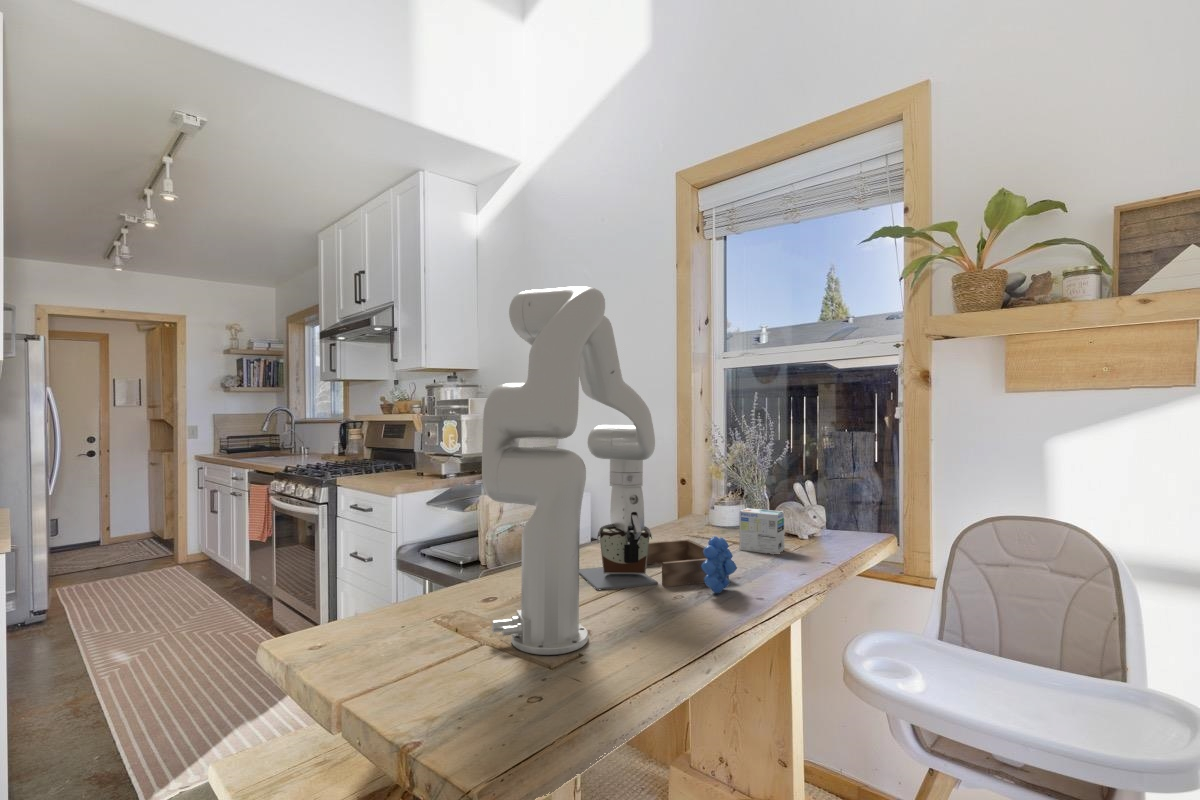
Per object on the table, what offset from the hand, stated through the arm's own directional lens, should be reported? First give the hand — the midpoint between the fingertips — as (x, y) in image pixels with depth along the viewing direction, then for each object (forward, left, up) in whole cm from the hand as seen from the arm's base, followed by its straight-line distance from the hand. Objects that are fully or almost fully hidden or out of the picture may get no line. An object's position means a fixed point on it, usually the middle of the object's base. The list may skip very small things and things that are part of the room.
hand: (625, 557), depth 134 cm
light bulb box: (+45, +12, -5) cm, 47 cm away
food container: (0, +1, -3) cm, 3 cm away
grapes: (+15, -17, -5) cm, 23 cm away
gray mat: (-2, 0, -4) cm, 5 cm away
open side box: (+13, 0, -4) cm, 13 cm away
